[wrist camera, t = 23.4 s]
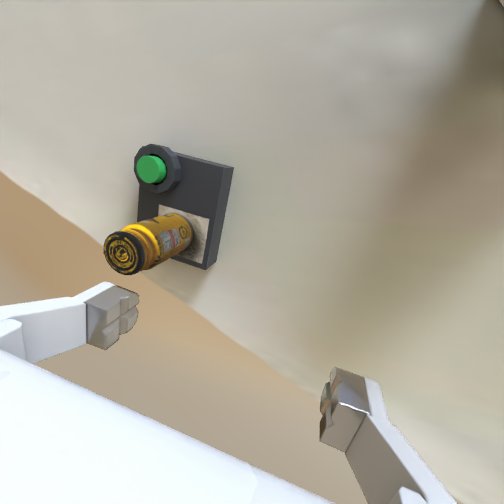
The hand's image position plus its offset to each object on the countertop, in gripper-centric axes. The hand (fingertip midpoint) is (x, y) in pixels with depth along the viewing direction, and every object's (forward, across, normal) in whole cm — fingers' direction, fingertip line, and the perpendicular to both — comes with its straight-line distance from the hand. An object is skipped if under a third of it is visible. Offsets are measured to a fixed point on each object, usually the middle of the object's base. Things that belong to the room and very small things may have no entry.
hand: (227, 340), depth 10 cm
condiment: (+27, +16, +7) cm, 33 cm away
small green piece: (+25, +21, -2) cm, 33 cm away
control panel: (+31, +18, +4) cm, 36 cm away
